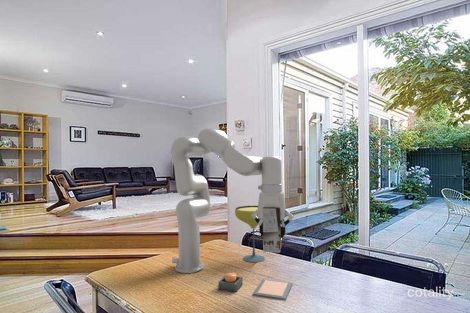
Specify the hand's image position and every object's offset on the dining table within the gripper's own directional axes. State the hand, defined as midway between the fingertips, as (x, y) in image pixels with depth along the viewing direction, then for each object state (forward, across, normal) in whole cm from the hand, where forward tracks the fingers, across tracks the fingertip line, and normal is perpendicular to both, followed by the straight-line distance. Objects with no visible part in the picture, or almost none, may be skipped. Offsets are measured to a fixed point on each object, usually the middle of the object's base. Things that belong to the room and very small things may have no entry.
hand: (272, 235), depth 113 cm
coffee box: (+5, 0, 0) cm, 5 cm away
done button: (+18, -16, -3) cm, 24 cm away
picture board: (+20, 0, 0) cm, 20 cm away
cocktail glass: (+20, -17, +32) cm, 42 cm away
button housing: (+20, -16, -3) cm, 26 cm away
